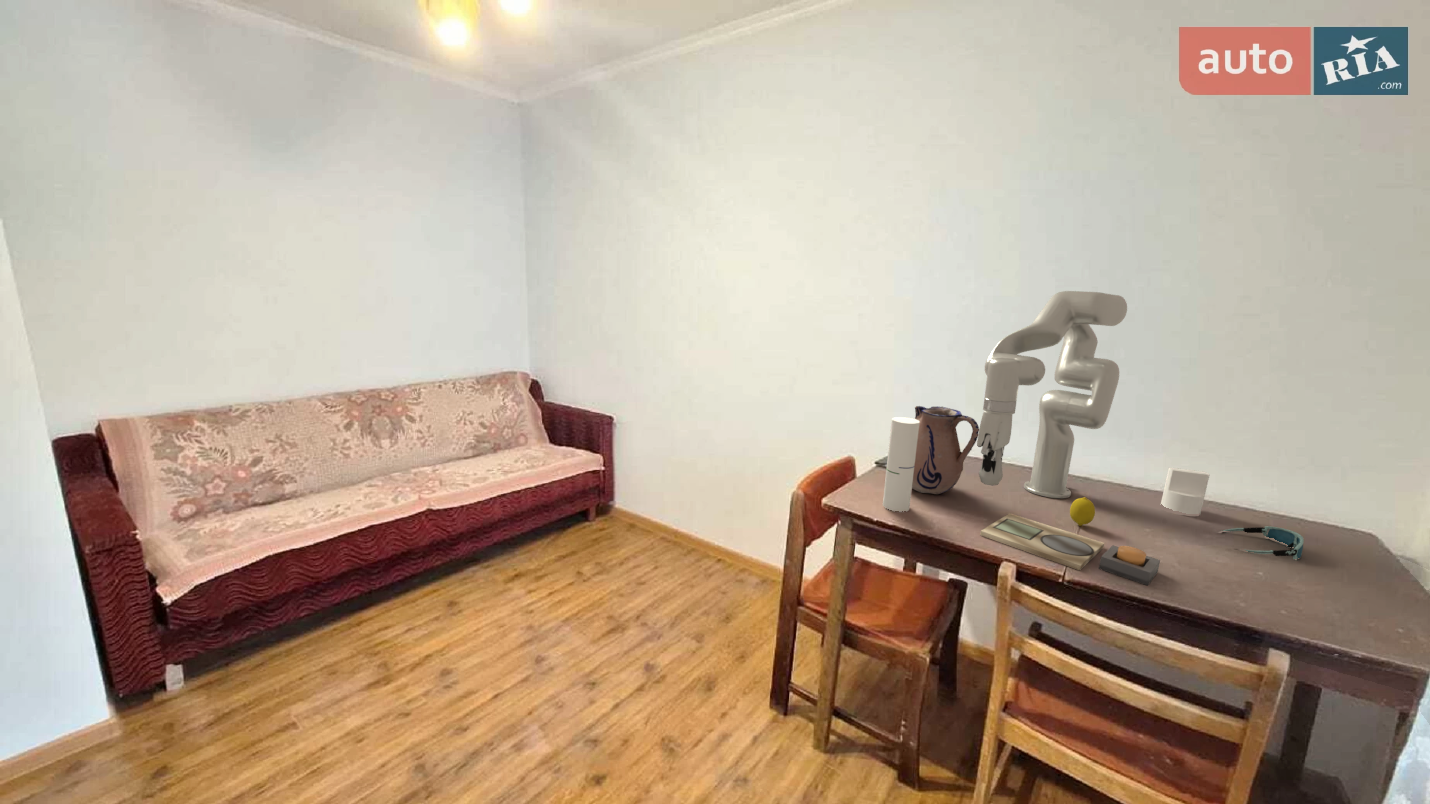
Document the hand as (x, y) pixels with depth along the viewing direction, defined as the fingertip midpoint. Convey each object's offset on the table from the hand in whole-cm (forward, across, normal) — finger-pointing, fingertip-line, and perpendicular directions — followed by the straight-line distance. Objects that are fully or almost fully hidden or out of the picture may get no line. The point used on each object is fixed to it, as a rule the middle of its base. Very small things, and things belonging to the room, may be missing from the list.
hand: (991, 471), depth 151 cm
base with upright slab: (+15, -51, +34) cm, 63 cm away
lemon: (+13, -14, +19) cm, 27 cm away
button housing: (+13, +5, +34) cm, 37 cm away
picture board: (+13, +5, +16) cm, 21 cm away
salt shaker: (+4, 0, 0) cm, 4 cm away
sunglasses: (+15, -38, +52) cm, 66 cm away
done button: (+10, +5, +34) cm, 36 cm away
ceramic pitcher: (+13, -6, -18) cm, 23 cm away
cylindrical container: (+12, +15, -18) cm, 27 cm away
